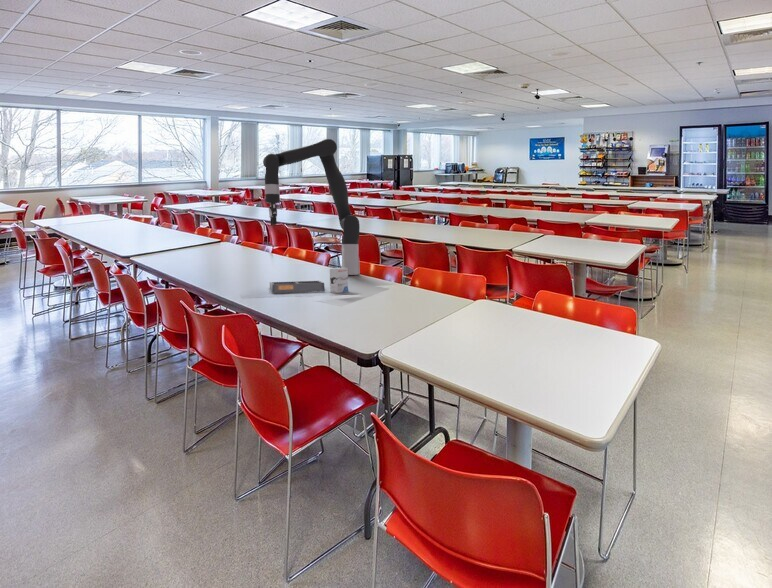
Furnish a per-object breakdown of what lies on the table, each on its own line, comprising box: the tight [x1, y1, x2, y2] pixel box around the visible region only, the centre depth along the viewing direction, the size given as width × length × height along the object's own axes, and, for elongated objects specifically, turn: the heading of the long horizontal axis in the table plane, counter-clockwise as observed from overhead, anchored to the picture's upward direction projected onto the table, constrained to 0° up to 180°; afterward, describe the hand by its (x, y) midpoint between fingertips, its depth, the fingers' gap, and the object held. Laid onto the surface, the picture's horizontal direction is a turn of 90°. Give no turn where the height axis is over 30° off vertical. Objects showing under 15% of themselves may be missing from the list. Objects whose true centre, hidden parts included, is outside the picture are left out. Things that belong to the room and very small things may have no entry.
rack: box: [269, 280, 325, 295], centre depth 238 cm, size 25×14×4 cm, turn 109°
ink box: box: [329, 267, 349, 294], centre depth 234 cm, size 8×5×12 cm, turn 145°
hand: (273, 225), depth 252 cm, fingers open, 8 cm apart
